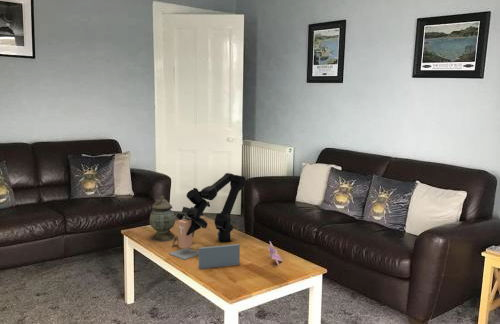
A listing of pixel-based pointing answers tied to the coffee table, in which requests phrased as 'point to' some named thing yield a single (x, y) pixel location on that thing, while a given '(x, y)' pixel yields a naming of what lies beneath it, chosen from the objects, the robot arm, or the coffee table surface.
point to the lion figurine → (178, 240)
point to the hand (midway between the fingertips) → (183, 234)
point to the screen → (219, 256)
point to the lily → (274, 254)
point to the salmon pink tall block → (184, 233)
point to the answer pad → (184, 253)
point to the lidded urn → (162, 220)
